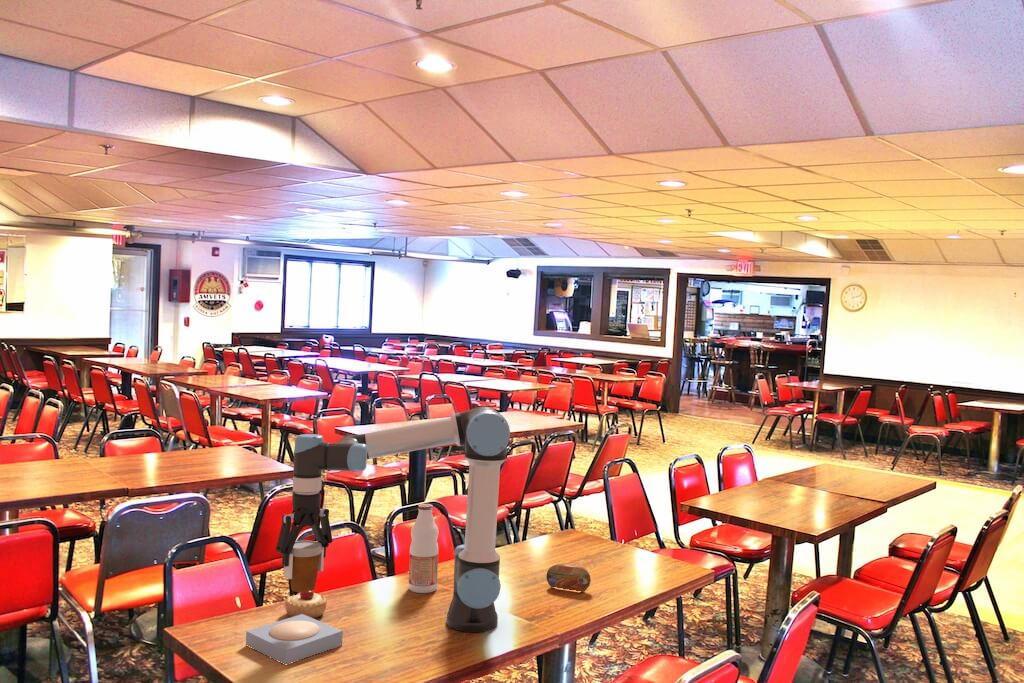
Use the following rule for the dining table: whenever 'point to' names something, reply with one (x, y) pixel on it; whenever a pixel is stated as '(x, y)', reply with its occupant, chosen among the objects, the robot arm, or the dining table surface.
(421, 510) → the fruit juice
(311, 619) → the serving stand
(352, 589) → the dining table surface
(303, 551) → the disposable coffee cup
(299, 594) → the pastry
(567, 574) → the tin
